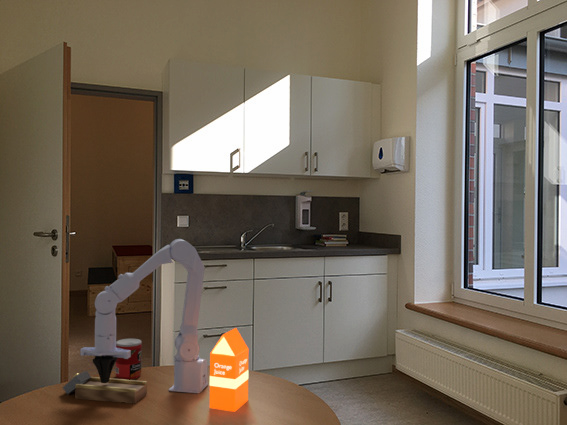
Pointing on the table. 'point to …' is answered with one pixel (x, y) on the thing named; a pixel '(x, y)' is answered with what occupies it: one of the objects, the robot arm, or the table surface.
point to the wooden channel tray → (111, 390)
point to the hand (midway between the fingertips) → (105, 382)
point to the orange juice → (229, 372)
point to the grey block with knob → (76, 381)
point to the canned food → (129, 359)
